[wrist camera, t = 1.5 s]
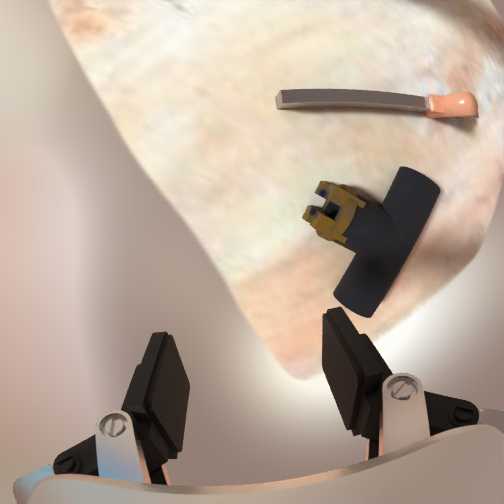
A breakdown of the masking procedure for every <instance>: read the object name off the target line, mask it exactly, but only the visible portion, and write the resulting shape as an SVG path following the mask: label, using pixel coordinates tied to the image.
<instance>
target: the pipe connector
mask: <svg viewBox="0 0 504 504" xmlns="http://www.w3.org/2000/svg"><path fill="white" fill-rule="evenodd" d="M315 193H316V194H318V195H319V196H321V197H323V198H325V199H326V201H325V203H324V205H323V207H322V209H321V211H318V210H317V209H315V208H313V207H311V206H309V205H308V207H307V209H306V211H305V213H304V215H303V217H302V218H303V219H304V220H305V221H307V222H309V223H310V225H311V226H312V227H313V228H314V229H316V232H317V235H318V236H320V237H322V238H324V239H326V240H328V241H333V242H335V243H337V244H339V245H341V246H343V247H345V248H347V249H349V250H351V251H353V252H355V253H356V255H355V256H354V258H353V260H352V262H351V263H350V265H349V267H348V269H347V270H346V272H345V274H344V275H343V277H342V279H341V281H340V282H339V284H338V286H337V287H336V289H335V290H334V292H333V294H334V296H335V298H336V299H337V300H338V301H339V302H340V303H341V304H342V305H344V306H345V307H346V308H348V309H349V310H351V311H352V312H354V313H356V314H358V315H360V316H363V317H366V318H370V317H372V315H373V314H374V312H375V311H376V309H377V308H378V306H379V305H380V303H381V301H382V300H383V298H384V297H385V295H386V293H387V292H388V290H389V289H390V287H391V285H392V284H393V282H394V280H395V279H396V277H397V275H398V274H399V272H400V270H401V268H402V267H403V265H404V263H405V261H406V260H407V258H408V256H409V254H410V252H411V250H412V249H413V247H414V245H415V243H416V241H417V239H418V237H419V235H420V233H421V231H422V229H423V227H424V225H425V223H426V221H427V219H428V217H429V215H430V213H431V211H432V208H433V206H434V204H435V202H436V200H437V197H438V195H439V193H440V188H439V187H438V185H437V184H436V183H434V182H433V181H432V180H431V179H429V178H428V177H426V176H425V175H423V174H421V173H420V172H418V171H416V170H413V169H411V168H408V167H400V168H399V170H398V172H397V174H396V176H395V179H394V181H393V183H392V185H391V187H390V189H389V191H388V193H387V195H386V197H385V199H384V202H383V204H382V206H381V208H379V207H377V206H376V205H374V204H373V203H371V202H370V201H368V200H366V199H365V198H363V197H362V196H360V195H358V194H357V193H356V192H355V190H353V189H352V188H350V187H348V186H346V185H345V184H341V185H339V186H336V185H333V184H328V183H326V182H324V181H320V183H319V185H318V187H317V189H316V191H315Z"/></svg>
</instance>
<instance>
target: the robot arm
mask: <svg viewBox="0 0 504 504" xmlns="http://www.w3.org/2000/svg"><path fill="white" fill-rule="evenodd" d="M322 367H323V371H324V373H325V376H326V379H327V381H328V384H329V386H330V389H331V391H332V394H333V396H334V399H335V401H336V404H337V407H338V409H339V412H340V414H341V417H342V419H343V422H344V425H345V427H346V429H347V430H352V433H353V436H356V435H359V434H361V435H362V437H365V438H367V451H366V461H364V462H361V463H358V464H354V465H351V466H348V467H344V468H340V469H336V470H332V471H329V472H324V473H320V474H315V475H310V476H306V477H301V478H295V479H288V480H282V481H275V482H268V483H259V484H248V485H236V486H207V487H206V486H205V487H204V486H172V485H171V483H170V480H169V477H168V474H167V471H166V468H165V465H164V464H165V463H166V462H167V461H168V459H177V454H178V452H181V451H182V446H183V437H184V429H185V421H186V413H187V405H188V397H189V391H190V384H189V380H188V378H187V375H186V372H185V370H184V367H183V364H182V361H181V358H180V356H179V353H178V350H177V347H176V344H175V341H174V338H173V336H172V335H168V333H167V332H157V333H153V334H152V336H151V338H150V341H149V344H148V346H147V349H146V351H145V354H144V357H143V360H142V362H141V364H139V365H137V367H136V369H135V372H134V375H133V378H132V380H131V383H130V385H129V389H128V391H127V394H126V397H125V399H124V403H123V405H122V408H121V410H113V411H109V412H106V413H105V414H103V415H102V416H101V417H100V418H99V419H98V420H97V422H96V426H95V435H93V436H91V437H90V438H88V439H86V440H84V441H82V442H81V443H79V444H77V445H75V446H73V447H72V448H70V449H68V450H66V451H64V452H62V453H61V454H59V455H58V456H57V457H56V459H55V461H54V464H53V466H51V465H46V466H44V467H42V468H40V469H38V470H36V471H34V472H31V473H29V474H26V475H24V476H22V477H19V478H18V479H17V480H16V481H15V482H14V485H13V493H14V496H15V499H16V502H17V504H504V411H500V410H492V409H486V408H483V409H482V410H481V411H478V409H477V407H476V406H475V405H474V404H472V403H471V402H469V401H466V400H461V399H457V398H452V397H448V396H442V395H439V394H435V393H430V392H426V391H423V386H422V383H421V381H420V380H419V379H418V378H417V377H415V376H414V375H411V374H408V373H396V374H393V373H392V372H391V370H390V369H389V368H388V366H387V364H386V363H385V361H384V360H383V358H382V357H381V355H380V354H379V352H378V351H377V349H376V348H375V346H374V345H373V343H372V342H371V340H370V339H369V337H368V336H367V335H366V334H359V333H358V331H357V330H356V328H355V327H354V325H353V324H352V322H351V321H350V319H349V317H348V316H347V314H346V313H345V311H344V310H343V309H342V307H337V308H332V309H328V310H327V313H325V314H323V334H322Z"/></svg>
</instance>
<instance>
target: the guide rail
mask: <svg viewBox="0 0 504 504" xmlns="http://www.w3.org/2000/svg"><path fill="white" fill-rule="evenodd" d="M428 96H429V98H427V97H421V96H415V95H407V94H399V93H391V92H380V91H368V90H350V89H294V90H281V91H280V92H279V93H278V94H277V96H276V97H275V98H276V105H277V109H286V108H305V107H367V108H385V109H398V110H408V111H418V112H424V113H425V115H426V116H427V117H429V118H440V117H458V118H479V117H478V105H477V101H476V99H475V97H474V96H473V94H472V93H470V92H461V93H455V94H448V95H442V96H438V95H433V94H431V95H428Z"/></svg>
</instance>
